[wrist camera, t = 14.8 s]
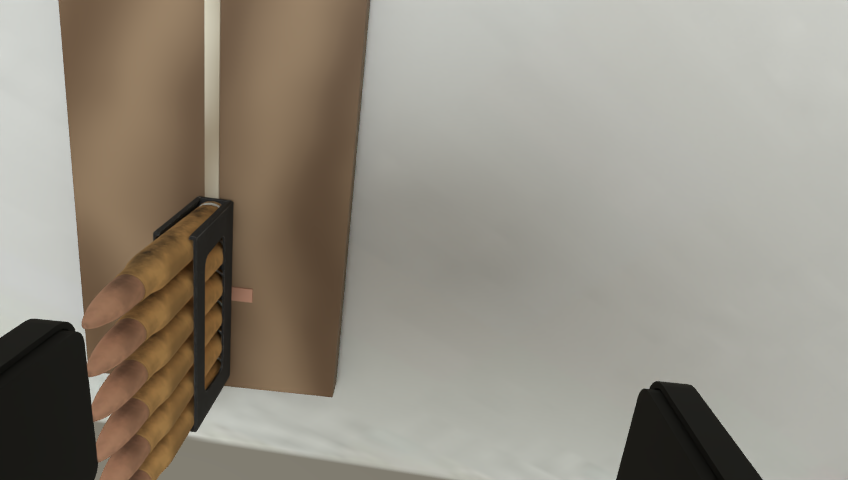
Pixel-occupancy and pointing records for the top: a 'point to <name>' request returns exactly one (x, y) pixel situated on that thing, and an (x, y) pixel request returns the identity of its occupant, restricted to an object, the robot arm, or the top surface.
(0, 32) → the top surface
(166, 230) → the ammunition clip
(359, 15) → the walnut board
